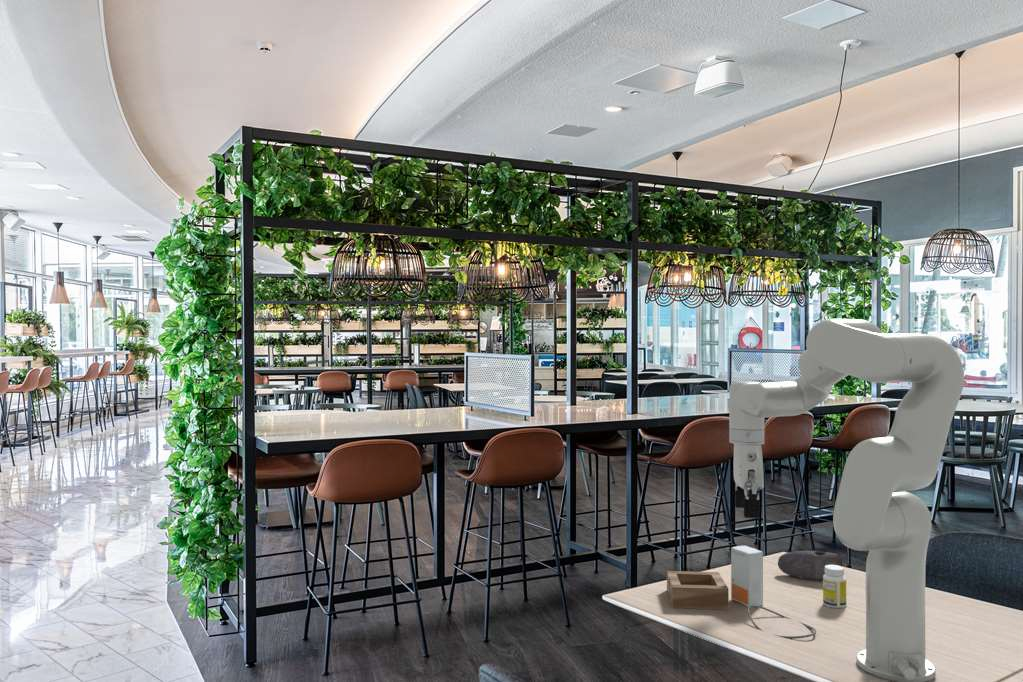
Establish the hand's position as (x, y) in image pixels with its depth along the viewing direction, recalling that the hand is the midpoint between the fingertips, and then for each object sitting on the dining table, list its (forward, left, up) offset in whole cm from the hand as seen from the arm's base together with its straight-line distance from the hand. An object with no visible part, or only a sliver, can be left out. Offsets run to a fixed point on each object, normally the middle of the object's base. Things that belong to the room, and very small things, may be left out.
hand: (746, 512), depth 171 cm
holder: (+1, +11, -20) cm, 23 cm away
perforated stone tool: (+19, -19, -21) cm, 34 cm away
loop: (-14, -4, -21) cm, 26 cm away
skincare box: (0, 0, -20) cm, 20 cm away
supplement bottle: (0, -19, -20) cm, 28 cm away
